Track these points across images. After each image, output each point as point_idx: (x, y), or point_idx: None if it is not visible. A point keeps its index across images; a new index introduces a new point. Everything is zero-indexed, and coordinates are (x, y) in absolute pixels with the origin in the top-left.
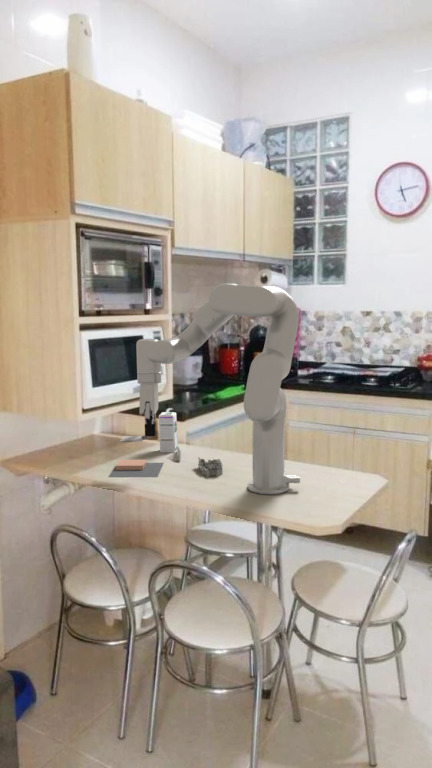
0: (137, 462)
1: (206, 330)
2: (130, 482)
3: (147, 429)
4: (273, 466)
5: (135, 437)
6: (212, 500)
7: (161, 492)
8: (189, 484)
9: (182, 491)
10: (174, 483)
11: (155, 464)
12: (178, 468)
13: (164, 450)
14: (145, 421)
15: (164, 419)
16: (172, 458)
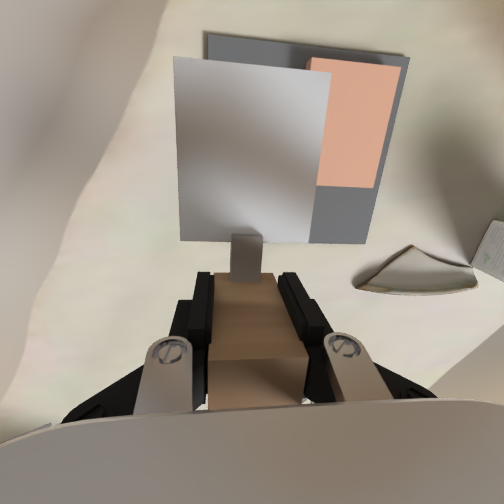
0: (341, 157)
1: None
2: (157, 148)
3: (175, 321)
4: None
5: (266, 184)
6: (28, 387)
7: (64, 266)
8: (151, 330)
9: (85, 319)
10: (157, 293)
11: (351, 219)
12: (305, 289)
13: (493, 236)
14: (144, 370)
15: None
16: (397, 268)
